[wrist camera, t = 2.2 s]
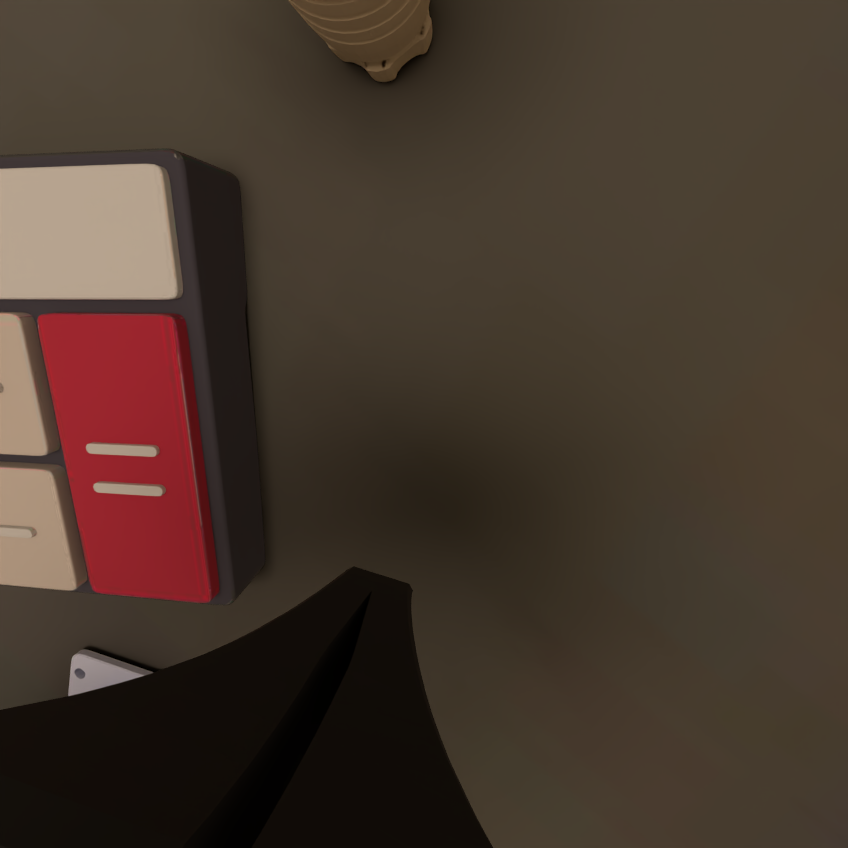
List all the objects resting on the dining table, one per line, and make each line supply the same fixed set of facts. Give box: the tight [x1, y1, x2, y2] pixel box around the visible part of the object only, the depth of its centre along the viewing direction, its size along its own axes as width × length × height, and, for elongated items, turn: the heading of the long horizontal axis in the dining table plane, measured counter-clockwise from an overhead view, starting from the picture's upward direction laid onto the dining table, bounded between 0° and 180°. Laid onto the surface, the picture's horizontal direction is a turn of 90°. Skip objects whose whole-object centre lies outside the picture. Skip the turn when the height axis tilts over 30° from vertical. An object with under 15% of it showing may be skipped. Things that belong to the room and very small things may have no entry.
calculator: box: [0, 149, 265, 605], centre depth 18 cm, size 11×4×15 cm
